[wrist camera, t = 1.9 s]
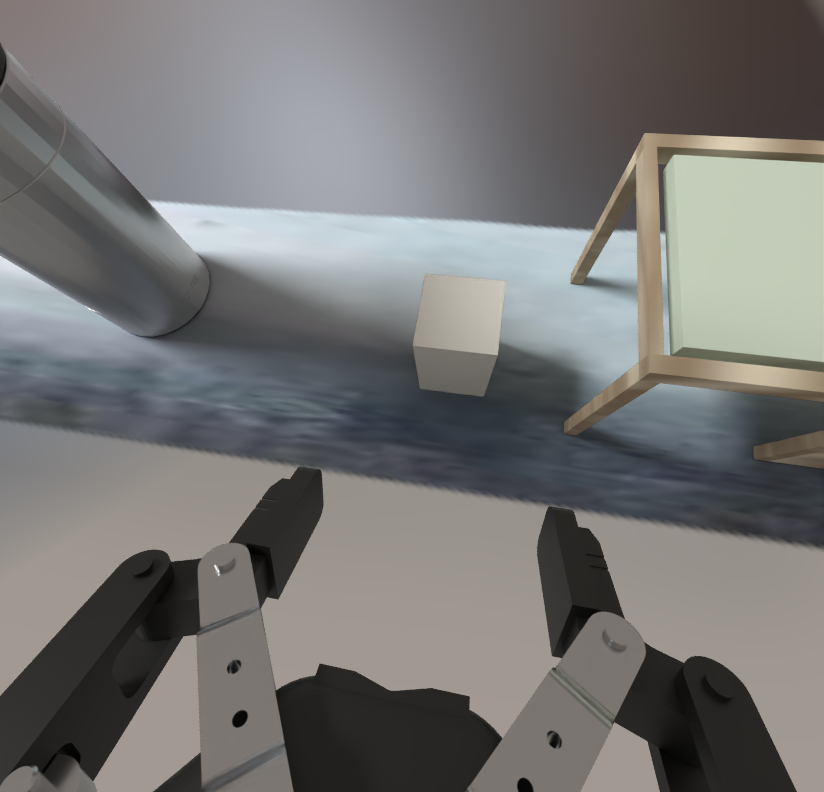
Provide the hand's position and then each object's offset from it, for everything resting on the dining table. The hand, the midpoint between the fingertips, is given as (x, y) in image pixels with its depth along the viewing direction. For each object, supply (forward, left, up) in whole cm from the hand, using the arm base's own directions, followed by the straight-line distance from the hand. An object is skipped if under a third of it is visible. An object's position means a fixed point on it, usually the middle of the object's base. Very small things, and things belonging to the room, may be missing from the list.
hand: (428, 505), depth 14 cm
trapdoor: (+10, +18, -3) cm, 21 cm away
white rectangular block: (-4, +11, -15) cm, 19 cm away
